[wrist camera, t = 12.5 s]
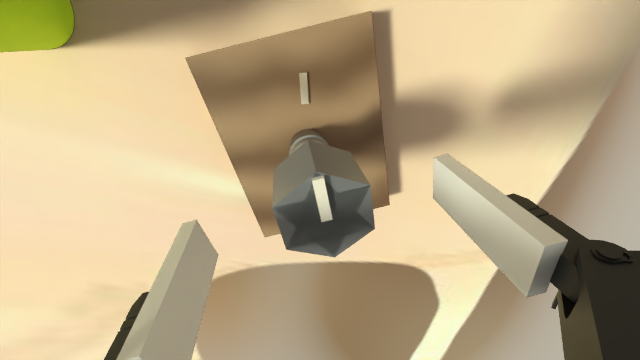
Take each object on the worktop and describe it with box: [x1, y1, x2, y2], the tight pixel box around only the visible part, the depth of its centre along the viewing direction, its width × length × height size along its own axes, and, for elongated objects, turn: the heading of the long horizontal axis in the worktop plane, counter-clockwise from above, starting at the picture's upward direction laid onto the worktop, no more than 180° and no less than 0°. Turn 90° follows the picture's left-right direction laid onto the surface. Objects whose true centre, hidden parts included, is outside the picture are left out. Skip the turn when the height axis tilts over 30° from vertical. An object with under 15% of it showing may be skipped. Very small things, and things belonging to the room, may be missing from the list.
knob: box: [272, 140, 375, 257], centre depth 16 cm, size 6×5×5 cm
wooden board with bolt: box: [185, 11, 390, 237], centre depth 21 cm, size 18×14×8 cm
